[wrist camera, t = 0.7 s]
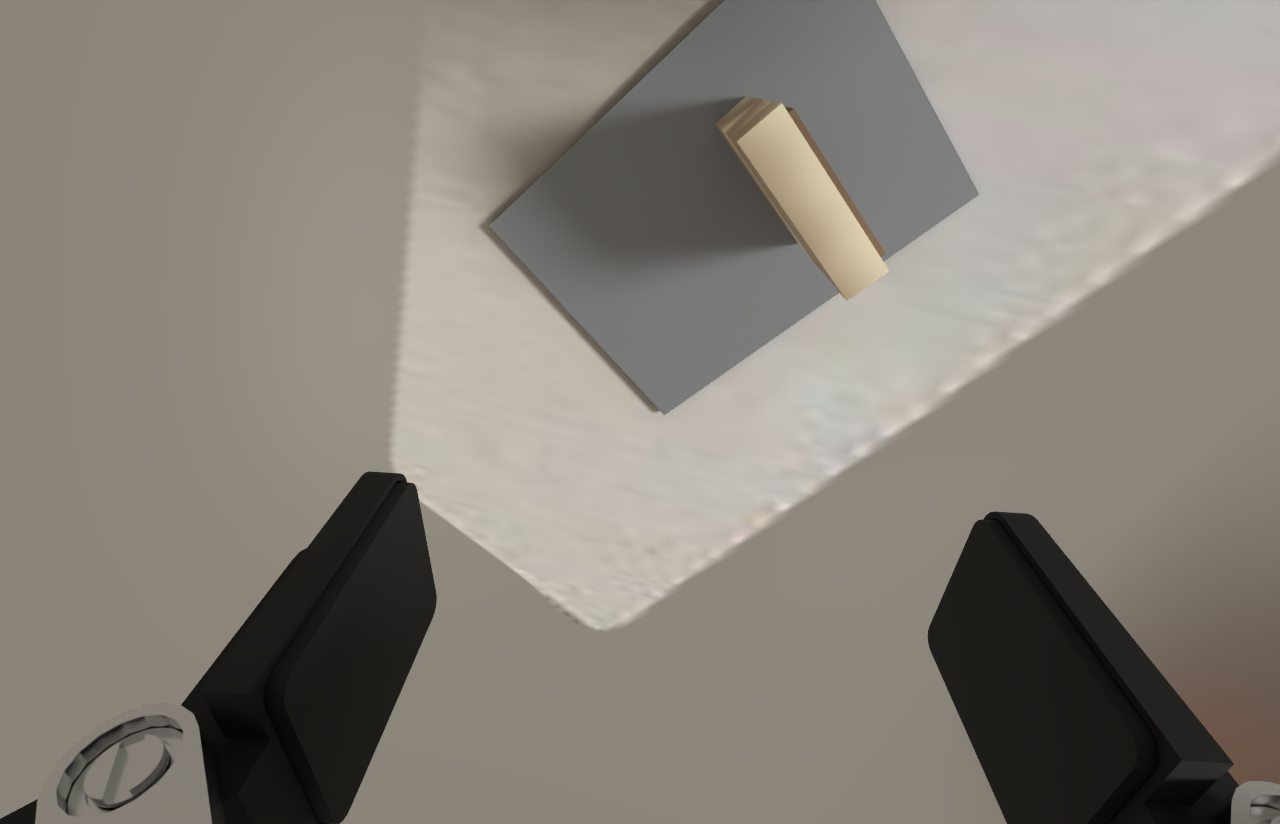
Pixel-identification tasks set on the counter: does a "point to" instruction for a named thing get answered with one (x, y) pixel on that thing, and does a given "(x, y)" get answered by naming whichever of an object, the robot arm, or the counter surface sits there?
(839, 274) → the birch tile
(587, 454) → the counter surface
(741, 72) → the rubber mat
